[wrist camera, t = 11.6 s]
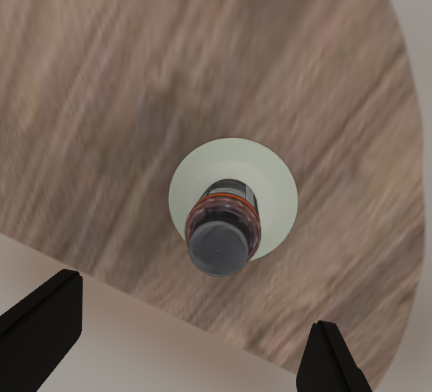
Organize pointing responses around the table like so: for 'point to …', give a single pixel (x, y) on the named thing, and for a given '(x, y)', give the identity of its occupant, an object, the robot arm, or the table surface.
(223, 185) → the supplement bottle
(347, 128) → the table surface
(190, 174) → the dish
